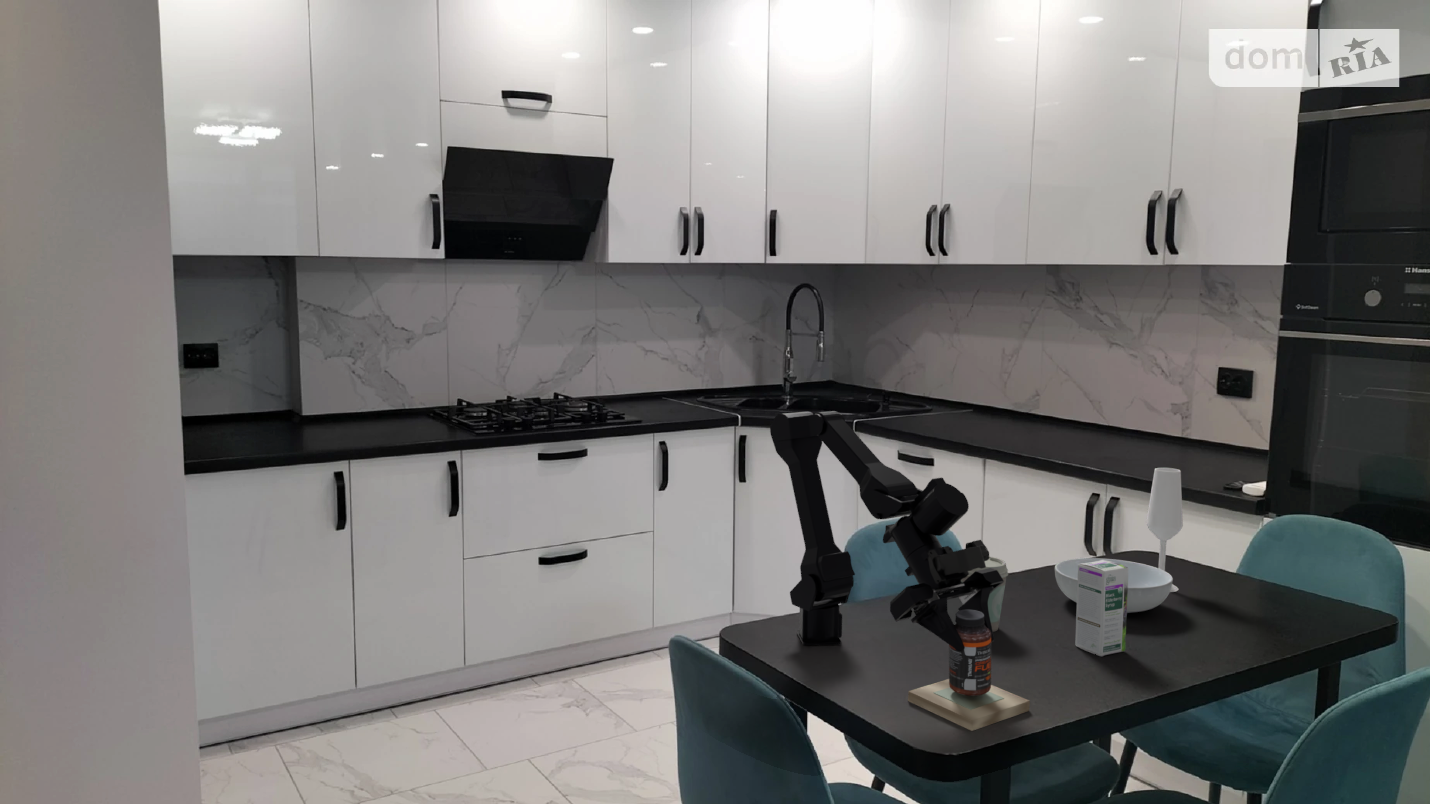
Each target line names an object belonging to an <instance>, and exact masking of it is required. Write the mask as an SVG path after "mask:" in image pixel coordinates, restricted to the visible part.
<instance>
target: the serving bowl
mask: <svg viewBox="0 0 1430 804" xmlns="http://www.w3.org/2000/svg"><path fill="white" fill-rule="evenodd" d="M1100 560H1106V561H1111V562H1115V563H1118V564H1121V565H1124V566H1126V567H1128V569H1129V570H1128V595H1127V614H1130V613H1138V612H1139V613H1140V612H1145V611H1148V610H1152V609H1154V608H1157V607H1158V606H1160V605H1161V604H1162V603H1163V602H1165V600H1166V599H1167V597H1168V596H1169V594H1170V593H1171V592H1170V590H1171V587H1172V584H1173V580H1174V578H1173V576H1172V575H1171V574H1170V573H1169V572H1167V571H1166V570H1165V571H1163V570H1161V569H1159V567H1156V566H1152V565H1148V564H1145V563H1139V562H1134V561H1129V560H1122V559H1115V558H1113V559H1112V558H1095V557H1094V558H1093V557H1091V558H1090V557H1089V558H1087V557H1086V558H1085V557H1084V558H1083V557H1082V558H1081V557H1080V558H1072V559H1066V560H1062V561H1060V562H1058V563H1056V564H1055V566H1054V576H1055V580H1056V584H1057V586H1058V587H1059V589H1060V591H1061V592H1062V593H1063V594H1064V595H1065V596H1066V597H1067V598H1068V599H1070V600H1071V601H1072V602H1074V603H1076V604H1077V581H1078V564H1081V563H1089V562H1095V561H1100Z"/></svg>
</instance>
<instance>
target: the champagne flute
mask: <svg viewBox="0 0 1430 804" xmlns="http://www.w3.org/2000/svg"><path fill="white" fill-rule="evenodd" d="M1152 477H1153V478H1152V484H1151V491H1150V497H1149V502H1148V509H1147V515H1146V521H1145V523H1146V526H1147V529H1149V531H1150V532H1151V533H1152V534H1153V536H1155V538H1157V539H1158V540H1159V555H1158V568H1159V569H1161V570H1163V571H1165V572H1166V557H1167V555H1166V554H1167V553H1166V552H1167V541H1168V540H1171V539H1172V538H1174V537H1175V536H1176V535H1178V534H1179V533H1180V531H1181V530H1182V528H1183V526H1184V523H1183V522H1184V521H1183V520H1184V519H1183V498H1182V497H1183V496H1182V495H1183V494H1182V471H1181V470H1180V469H1177V468H1172V467H1157V468H1156V467H1155V468H1154V472H1153V476H1152ZM1177 591H1179V588H1178V586H1176V585H1174V584H1173V583H1172V587H1171V590H1170V593H1174V592H1177Z"/></svg>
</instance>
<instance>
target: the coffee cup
mask: <svg viewBox="0 0 1430 804" xmlns="http://www.w3.org/2000/svg"><path fill="white" fill-rule="evenodd" d="M985 565H986V567H985V568H976V569H973V570H971V571H968V572H969V575H968V576H967V577H965V578H963V579H962V580H961V582H964V581H965V580H966V579H967V578H968V577H970V576H971V575H972V574H973V573H974V572H975V571H979V570H984V569H988V568H992V569H995V570H997V571H998V572H999V574H1000V576H1001V577H1002V579H1003V580H1004V582H1003V583H1002V584H1001V585H1000V586H999V587H997V588H996V589H995V590H994V591H993V592H992V593H990V595H989V599H988V610H989V616H990V621H991V626H992V631H993V633H994V632H996V631H998V630H999V626H1000V618H1001V613H1002V606H1003V602H1004V601H1003V599H1004V594H1005V587H1006V581H1007V577H1008V576H1009V570H1008V567H1007V563H1006V561H1004V560H1003V559H1000V558H998V557H993V556H989V560H987V561H985Z"/></svg>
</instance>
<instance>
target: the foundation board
mask: <svg viewBox="0 0 1430 804" xmlns="http://www.w3.org/2000/svg"><path fill="white" fill-rule="evenodd" d="M907 694H908V695H907V699H908V700H907V702H909V703H911V704H913V705H916V706H918V707H919V708H922V709H924V710H926V711H929V712H931V713H933V714H935V715H937V716H938V717H941V718H943V719H945V720H947V721H950V722H952V723H954V724H956V725H958V726H960V727H962V728H965V729H966V730H969V731H971V732H973V731H975V730H979V729H981V728H984V727H988V726H990V725H992V724H996V723H998V722H1000V721H1004V720H1007V719H1010V718H1012V717H1016V716H1018V715H1021V714H1024V713H1027V712H1030V704H1031V703H1030V702H1031V700H1030V699H1026V698H1024V697H1023V696H1019V695H1017V694H1014V693H1011V692H1009V691H1007V690H1004V689H1002V688H1000V687H997V686H996V685H993V684H991V689H990V690H989V692H987V693H985V694H983V695H979V696H966V695H962V694H959V693H957V692H955V691H953V690H952V689H951V688H950V686H949V678H947V679H944V680H941V681H938V682H935V683H932V684H928V685H924V686H921V687H918V688H914V689H912V690H908V692H907Z"/></svg>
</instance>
